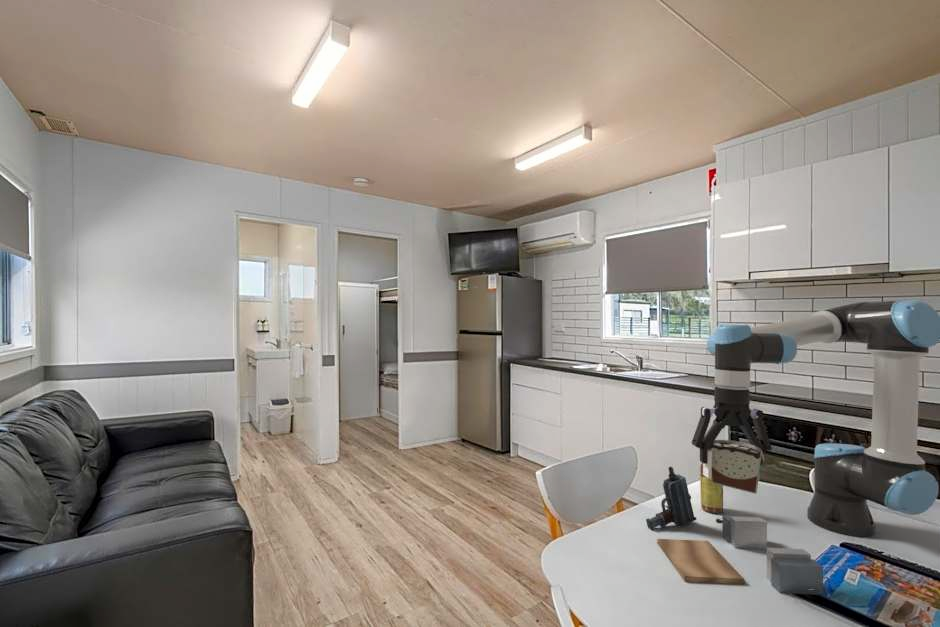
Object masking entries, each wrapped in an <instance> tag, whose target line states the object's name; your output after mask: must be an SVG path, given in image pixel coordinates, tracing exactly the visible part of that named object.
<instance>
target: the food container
mask: <svg viewBox="0 0 940 627" xmlns="http://www.w3.org/2000/svg"><path fill="white" fill-rule="evenodd" d="M709 450H710V451H712V474H711V480H712V483H715V484H719V485H723V487H726V488H727V487H728V488H731V489H735V490H740V491H742V492H747V493H751V494H757V492H758V486H759V481H758V479H759V480H760V470H761V466H760V464H761V457H762V458H763V462H765V456H764V455H765V454H763V452H762V450H761V449H760V448H759V447H756V446H754V445H751V444H750V443H747V442H741V441H736V440H728V439H715V440H714V442H713V443H712V445H711V446H710V448H709Z"/></svg>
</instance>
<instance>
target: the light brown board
mask: <svg viewBox="0 0 940 627" xmlns="http://www.w3.org/2000/svg"><path fill="white" fill-rule="evenodd" d="M656 543H657V544H656V545H658V546H659V548H660V549H661V551H662V552H663V554H664V555H665V556H666V558H667V560H669V562H670V563H671V565H672V566H673V568H674V569H675V570H676V572H677V574H678V575H679V576H680V578H681V579H682V580H683V581H684V582H685V583H687V582H688V583H690V582H691V583H710V584H711V583H712V584H732V585H735V584H736V585H745V578H744V577H743V576H742V574H740V573H739V571H737V570H736V569H735V568H734V566H733V565H732V564H731V563H730V562H729V561H728V560H727V559H726V558H725V557H724V556H723V554H721V553H720V552H719V550H717V549H716V547H715V546H713V544H712V543H711V542H710V541H709V540H697V539H675V538H674V539H672V538H657V539H656Z"/></svg>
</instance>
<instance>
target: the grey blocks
mask: <svg viewBox="0 0 940 627" xmlns="http://www.w3.org/2000/svg"><path fill="white" fill-rule="evenodd" d="M715 522H716V523H717V524H721V526H722V527H721V528H722V532H721V534H722V538H723V540H725V542H727V543H728V544H731V545H732V546H733V548H734V549H735V548H736V549H758V550H759V549H760V550H766V579H767V580H768V581H769V583H770V585H771V586H772V587H773V588H774V589H775V590H776V591H778V592H777V593H779V594H794V595H795V594H796V595H797V594H798V595H799V594H800V595H814V596H815V595H818V596H823V595H824V566H822V564H820V563H818V561H817V560H815V559H813V558H812V555H811V553H809V552H808V551H807V550H805V549H804V548H787V547H786V548H785V547H784V548H783V547H779V548H778V547H768V521H767V520H765V519H764V518H762V517H758V516H752V515H749V516H748V515H746V516H745V515H724V514H723V515H722V518H716V519H715ZM808 589H814V590H808Z"/></svg>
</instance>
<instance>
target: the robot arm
mask: <svg viewBox="0 0 940 627" xmlns="http://www.w3.org/2000/svg"><path fill="white" fill-rule="evenodd" d="M819 342H820V343H824V344H832V343H855V344H856V343H858V344H866V351H867V352H868V353H870V354H871V356H873V358H874V359H873V385H872V386H873V387H872V389H873V390H872V412H871V413H872V415H871V441H870V442H871V443H870V444H871V446H869V447H867V448H866V447H864V446H861V445H855V444H848V443H847V444H846V443H834V442H833V443H819V444H817V445H816V446H815V448H814V456H813V474H814V492H813V496H812V497H811V500H810V503H809V506H808V507H807V509H806V510H807V513H806V514H807V519H808V521H810V522H811V523H813V524H814V525H816V526H817V527H821V528H823V529H825V530H827V531H831V532H834V533H837V534H838V533H839V534H841V535H848V536H853V537H871V536H873V535H875V534H876V524H875V521H874V518H873V516H872V513H871V511H870V508H869V506H868V503H867V502H868V501H870V502H872V503H875V504H877V505H880V506H882V507H885V508H887V509H888V510H891V511H894V512H895V511H896V512H899V513H902V514H905V515H911V516H913V515H914V516H916V515H920V514H922V513H925V512H927V511H928V510H929V509H930V508H932V506H933V505H934V503H935V502H936V500H937V498H938V495H939V482H938V481H937V480H936V478H935V476H934V475H933V474H931V473H930V472H928V471H926V461H925V460H924V459H923V458H922V457H921V456H920V455H919V453H917V452H918V424H919V422H918V421H919V393H920V392H919V389H920V385H919V384H920V361H921V360H922V359H924V358H925V357H927V356H928V355H929V349H930V348H931V347H935V346H936V345H937V344H939V343H940V314H939V313H938V311H937V310H935V309H934V307H933V306H932V305H930V304H928V303H926V302H924V301H919V300H904V299H903V300H887V301H885V300H884V301H868V302H867V301H862V302H861V301H860V302H854V303H853V302H852V303H850V304H845V305H840V306H836V307H831V308H827V309H824V310H818V311H815V312H814V313H812V315H810V316H805V317H799V318H795V319H789V320H784V321H778V322H774V323H768V324H767V323H766V324H762V325H758V326H752V327H751V326H750V325H748V324H724V323H723V324H719V325H717V326H716V328H715V332H713V333H711V334H710V335H709V336H708V338H707V340H706V347H707V350H708V353H709V354H710V355H712V356H713V357H714V384H715V387H714V393H713V394H714V395H713V396H714V397H713V398H714V400H713V401H714V405H713V406H712V407H706V406H701V408H700V418H699V421H698V424H697V426H696V429H695V431H694V434H693V438H692V439H691V444H692V445H693V446H694V447H696V448H698V449H699V461H700V462H701V464H702V463H703V475H704V476H706V477H707V478H710V479H711V474H712V451H710V450H708V449H709V448H710V446H711V445H712V443H713V442H714V440H717V437H718V436H719V434H720V433H721V431H722V430H723V429H725V427H726V426H727V427H731V426H734V427H739V428H740V429H741V431H742V432H743V434H744V436H745V438H746V439H747V440H748V442H749V444H751V445H754V446H756V447H759V448H760V449H761V450H762V452H763V455H765V454H767V451H770V452H771V451H772V449H773V446H772V444H771V441H770V440H771V439H770V438H769V435H768V432H767V428H766V425H765V422H764V411H763V410H761V409H758V408H753V409H752V408H750V404H751V390H749V388H751V364H775V365H779V364H788V363H790V362H792V361H794V359H795V358H796V355H797V353H798V346H804V345H808V344H814V343H819ZM713 414H714V415H715V418H714V420H713V421H712V424H711V426H710V427H709V424H710V422H711V418H712V417H713V416H714V415H713ZM749 417H751V419H752V422H753V426H754V428H755V432H756V434H755V432H754V431H753V429H752V428H751V425H750V423H749V422H748V420H747V419H748V418H749ZM708 427H709V429H708ZM763 464H764V461H763V458H762V457H761V464H760V467H762V466H763ZM759 481H760V478H759V479H758V482H759Z"/></svg>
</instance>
